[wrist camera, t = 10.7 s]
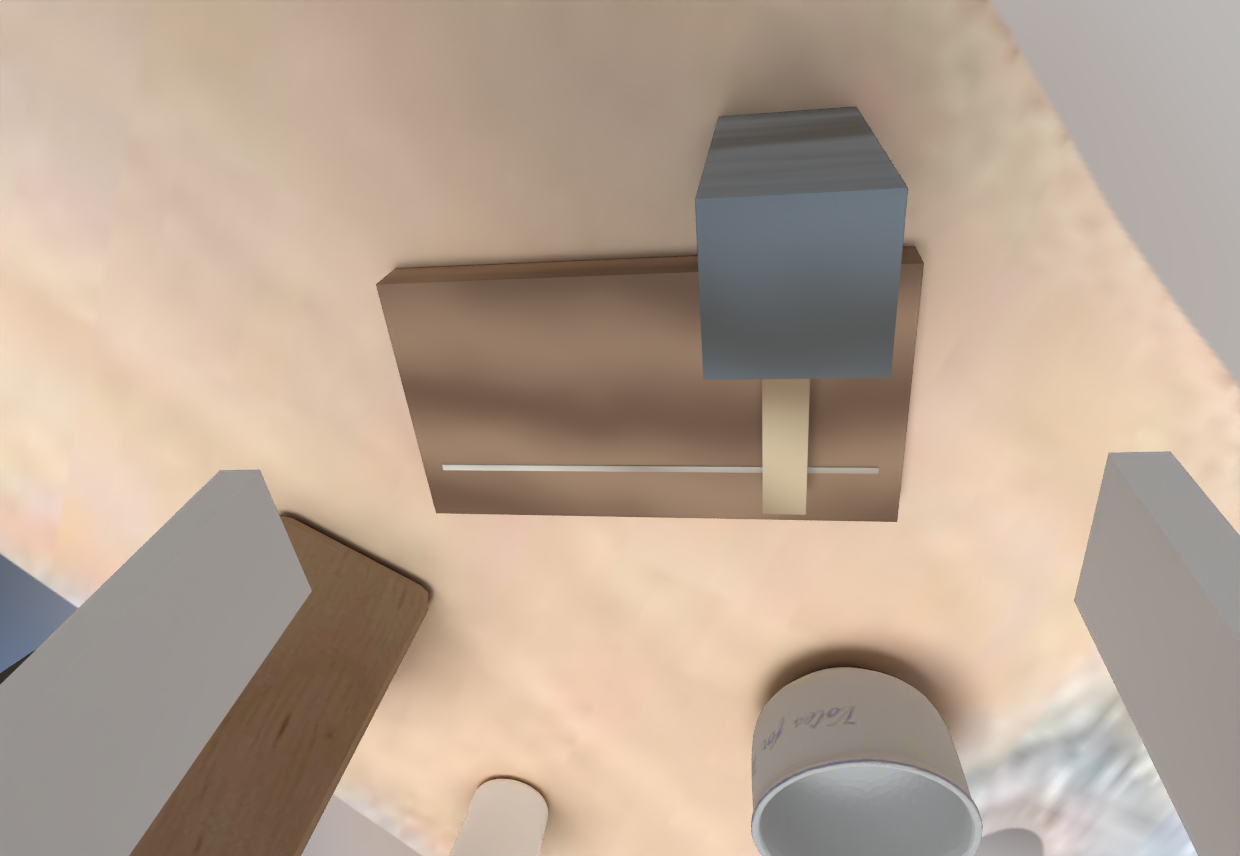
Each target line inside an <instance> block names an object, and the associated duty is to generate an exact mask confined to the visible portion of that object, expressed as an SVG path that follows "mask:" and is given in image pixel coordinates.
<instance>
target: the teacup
mask: <svg viewBox="0 0 1240 856" xmlns="http://www.w3.org/2000/svg"><path fill="white" fill-rule="evenodd" d="M752 795H753V815H752V822H751V832H752V838H753V840H754V843H755V845H756V847H757V849H758V851H759V852H760V854H761V855H762V856H974V854H975V853H976V851H977V849H978V847H979V845H980V842H981V839H982V829H983V826H982V820H981V817H980V814H979V811H978V809H977V807H976V805H975V803H974V801H973V800H972V799H971V796H970V792H969V789H968V786H967V782H966V779H965V776H964V773H963V770H962V767H961V764H960V761H959V758H958V755H957V752H956V749H955V747H954V744H953V741H952V738H951V736H950V734H949V731H948V729H947V727H946V725H945V723H944V721H943V719H942V717H941V716H940V714H939V712H938V711H937V710H936V708H935V707H934V706H933V705H932V703H931V702H930V701H929V700H928V699H927V698H926V697H925V696H924V695H923V694H922V693H921V692H919V691H918V690H917V689H915V688H914V687H912V686H911V685H909V684H907V683H906V682H904V681H902V680H900V679H898V678H895V677H893V676H890V675H887V674H884V673H881V672H877V671H872V670H867V669H862V668H855V667H835V668H828V669H823V670H819V671H816V672H813V673H810V674H808V675H806V676H803V677H801V678H799V679H797V680H795V681H793V682H791V683H790V684H788V685H786V686H785V687H783V688H782V689H781V690H779V691H778V692H777V693H776V694H775V695H774V696H773V697H772V698H771V699H770V700H769V702H768V703H767V704H766V705H765V707H764V708H763V710H762V712H761V714H760V716H759V718H758V720H757V723H756V726H755V730H754V735H753V744H752Z"/></svg>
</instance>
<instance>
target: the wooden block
mask: <svg viewBox="0 0 1240 856" xmlns="http://www.w3.org/2000/svg"><path fill="white" fill-rule="evenodd" d="M280 518H281V520H282V523H283V525H284V527H285V530H286V532H287V534H288V537H289V539H290V541H291V543H292V546H293V548H294V550H295V553H296V555H297V557H298V560H299V562H300V564H301V567H302V569H303V571H304V574H305V576H306V578H307V581H308V583H309V585H310V588H311V590H312V592H311V593H310V594H309V596H308V597H307V599H306V600H305V602H304V603H303V605H302V606H301V608H300V609H299V610H298V612H297V613H296V615H295V616H294V618H293V619H292V621H291V622H290V623H289V625H288V626H287V628H286V629H285V631H284V632H283V634H282V635H281V636H280V638H279V639H278V641H277V642H276V644H275V645H274V647H273V648H272V650H271V651H270V652H269V654H268V655H267V657H266V658H265V660H264V661H263V663H262V664H261V665H260V667H259V668H258V670H257V671H256V673H255V674H254V676H253V677H252V678H251V680H250V681H249V683H248V684H247V686H246V687H245V689H244V690H243V692H242V693H241V694H240V696H239V697H238V699H237V700H236V702H235V703H234V705H233V706H232V707H231V709H230V710H229V712H228V713H227V715H226V716H225V718H224V719H223V720H222V722H221V723H220V725H219V726H218V728H217V729H216V731H215V732H214V734H213V735H212V736H211V738H210V739H209V741H208V742H207V744H206V745H205V747H204V748H203V749H202V751H201V752H200V754H199V755H198V757H197V758H196V760H195V761H194V762H193V764H192V765H191V767H190V768H189V770H188V771H187V773H186V774H185V776H184V777H183V778H182V780H181V781H180V783H179V784H178V786H177V787H176V789H175V790H174V791H173V793H172V794H171V796H170V797H169V799H168V800H167V802H166V803H165V804H164V806H163V807H162V809H161V810H160V812H159V813H158V815H157V816H156V818H155V819H154V820H153V822H152V823H151V825H150V826H149V828H148V829H147V831H146V832H145V833H144V835H143V836H142V838H141V839H140V841H139V842H138V844H137V845H136V846H135V848H134V849H133V851H132V852H131V854H130V855H129V856H301V854H302V853H303V851H304V849H305V847H306V845H307V843H308V841H309V839H310V837H311V835H312V833H313V831H314V829H315V827H316V826H317V823H318V822H319V820H320V818H321V816H322V814H323V812H324V810H325V808H326V806H327V804H328V802H329V800H330V798H331V796H332V795H333V793H334V791H335V789H336V787H337V785H338V783H339V781H340V779H341V777H342V775H343V773H344V771H345V769H346V768H347V766H348V764H349V762H350V760H351V758H352V756H353V754H354V752H355V750H356V748H357V746H358V744H359V742H360V740H361V739H362V737H363V735H364V733H365V731H366V729H367V727H368V725H369V723H370V721H371V719H372V717H373V715H374V713H375V711H376V710H377V708H378V706H379V704H380V702H381V700H382V698H383V696H384V694H385V692H386V690H387V688H388V686H389V684H390V682H391V681H392V679H393V677H394V675H395V673H396V671H397V669H398V667H399V665H400V663H401V661H402V659H403V657H404V655H405V653H406V652H407V650H408V648H409V646H410V644H411V642H412V640H413V638H414V636H415V634H416V632H417V630H418V628H419V626H420V624H421V623H422V621H423V619H424V617H425V615H426V613H427V611H428V596H429V593H428V592H427V591H426V590H425V589H424V588H423V587H422V586H421V585H419V584H417V583H415V582H414V581H412V580H410V579H408V578H406V577H404V576H402V575H400V574H398V573H396V572H394V571H393V570H391V569H389V568H387V567H385V566H383V565H381V564H379V563H377V562H375V561H373V560H372V559H370V558H368V557H366V556H364V555H362V554H360V553H358V552H356V551H354V550H352V549H351V548H349V547H347V546H345V545H343V544H341V543H339V542H337V541H335V540H333V539H332V538H330V537H328V536H326V535H324V534H322V533H320V532H318V531H316V530H314V529H312V528H311V527H309V526H307V525H305V524H303V523H301V522H299V521H297V520H295V519H293V518H289V517H284V516H280Z"/></svg>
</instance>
